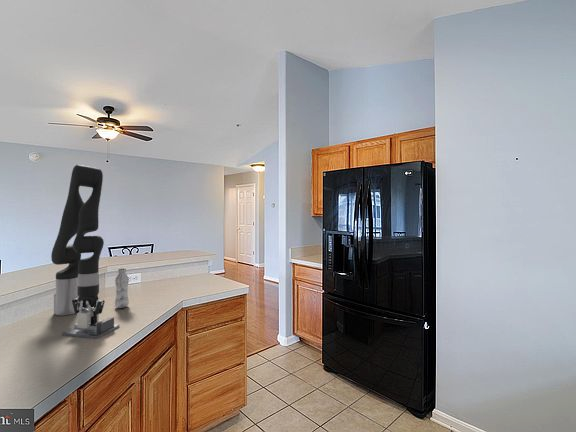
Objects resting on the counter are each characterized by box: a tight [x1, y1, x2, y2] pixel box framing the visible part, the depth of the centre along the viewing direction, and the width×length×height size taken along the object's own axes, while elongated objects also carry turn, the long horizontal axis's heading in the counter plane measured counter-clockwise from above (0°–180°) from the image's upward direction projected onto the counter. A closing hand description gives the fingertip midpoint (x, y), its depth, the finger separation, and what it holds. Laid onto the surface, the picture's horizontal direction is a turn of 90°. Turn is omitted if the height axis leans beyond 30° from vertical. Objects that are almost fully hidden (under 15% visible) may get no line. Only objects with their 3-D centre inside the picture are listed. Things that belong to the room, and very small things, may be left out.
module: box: [76, 308, 100, 328], centre depth 122 cm, size 4×6×6 cm
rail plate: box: [61, 316, 120, 339], centre depth 122 cm, size 16×12×5 cm
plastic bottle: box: [114, 268, 130, 309], centre depth 151 cm, size 6×7×20 cm
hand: (88, 323), depth 122 cm, fingers closed on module, 4 cm apart
